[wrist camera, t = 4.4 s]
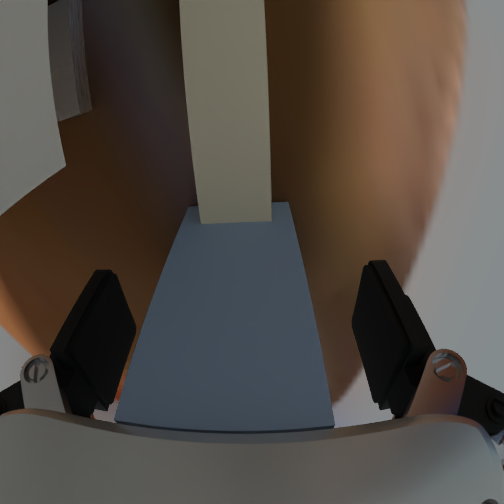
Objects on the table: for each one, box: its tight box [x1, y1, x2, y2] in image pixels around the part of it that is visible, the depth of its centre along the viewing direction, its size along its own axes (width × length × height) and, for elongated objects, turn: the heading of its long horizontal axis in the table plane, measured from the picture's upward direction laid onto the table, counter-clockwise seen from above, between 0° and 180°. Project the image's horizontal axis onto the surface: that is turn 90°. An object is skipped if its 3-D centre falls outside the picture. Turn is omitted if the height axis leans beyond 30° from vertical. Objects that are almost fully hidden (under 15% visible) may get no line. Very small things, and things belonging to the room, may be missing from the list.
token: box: [48, 0, 93, 122], centre depth 8 cm, size 5×5×2 cm
